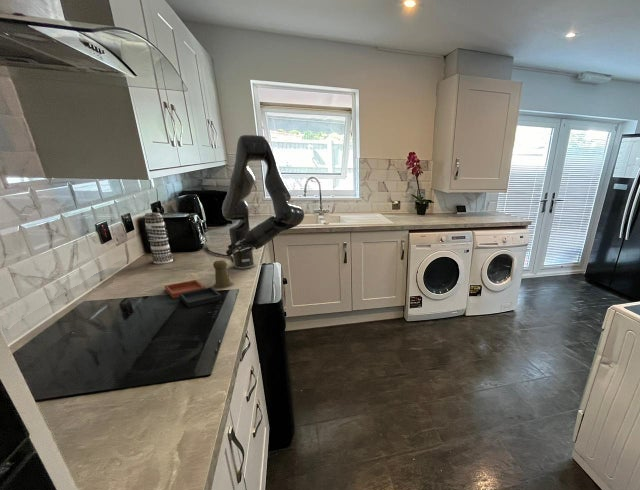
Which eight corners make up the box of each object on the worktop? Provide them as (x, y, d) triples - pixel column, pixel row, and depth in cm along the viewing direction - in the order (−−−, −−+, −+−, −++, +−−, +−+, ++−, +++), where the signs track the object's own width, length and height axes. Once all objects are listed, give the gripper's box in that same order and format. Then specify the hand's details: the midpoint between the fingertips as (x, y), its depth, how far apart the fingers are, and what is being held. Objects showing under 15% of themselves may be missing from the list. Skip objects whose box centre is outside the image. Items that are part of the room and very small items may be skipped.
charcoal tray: (180, 298, 126) (179, 293, 126) (212, 291, 134) (211, 286, 134) (188, 307, 119) (187, 302, 118) (222, 299, 127) (221, 294, 126)
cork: (212, 285, 140) (208, 261, 136) (225, 281, 145) (221, 258, 141) (221, 288, 137) (217, 264, 134) (234, 284, 143) (230, 260, 139)
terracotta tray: (165, 290, 133) (164, 285, 133) (197, 283, 141) (196, 279, 141) (173, 298, 126) (172, 293, 125) (205, 291, 134) (205, 286, 133)
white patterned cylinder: (177, 258, 174) (167, 212, 165) (167, 264, 165) (156, 214, 156) (159, 258, 173) (149, 211, 164) (148, 263, 164) (136, 214, 156)
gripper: (270, 225, 133) (245, 243, 140) (243, 226, 120) (217, 246, 127) (278, 242, 134) (253, 259, 140) (252, 244, 120) (225, 263, 127)
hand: (236, 253), depth 133 cm, fingers open, 8 cm apart
